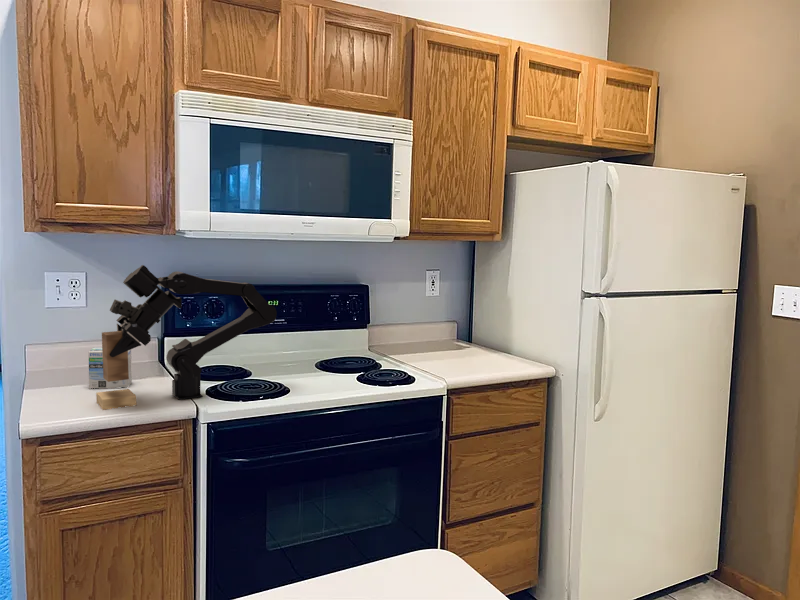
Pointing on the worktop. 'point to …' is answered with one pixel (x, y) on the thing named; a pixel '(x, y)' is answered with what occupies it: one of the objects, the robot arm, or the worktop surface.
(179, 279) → the robot arm
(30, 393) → the worktop surface
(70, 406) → the worktop surface
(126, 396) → the oak block
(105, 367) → the walnut block
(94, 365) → the light bulb box
